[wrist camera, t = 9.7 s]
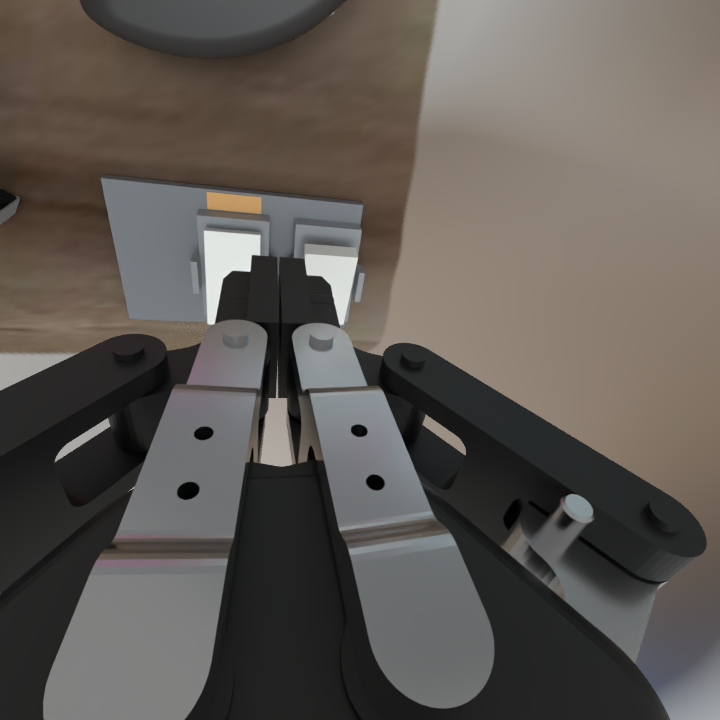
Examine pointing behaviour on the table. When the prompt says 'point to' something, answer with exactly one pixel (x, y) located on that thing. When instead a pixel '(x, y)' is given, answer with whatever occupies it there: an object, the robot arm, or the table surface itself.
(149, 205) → the switch unit
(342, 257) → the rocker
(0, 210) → the graphics card
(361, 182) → the table surface
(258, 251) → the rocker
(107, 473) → the robot arm
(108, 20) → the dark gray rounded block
